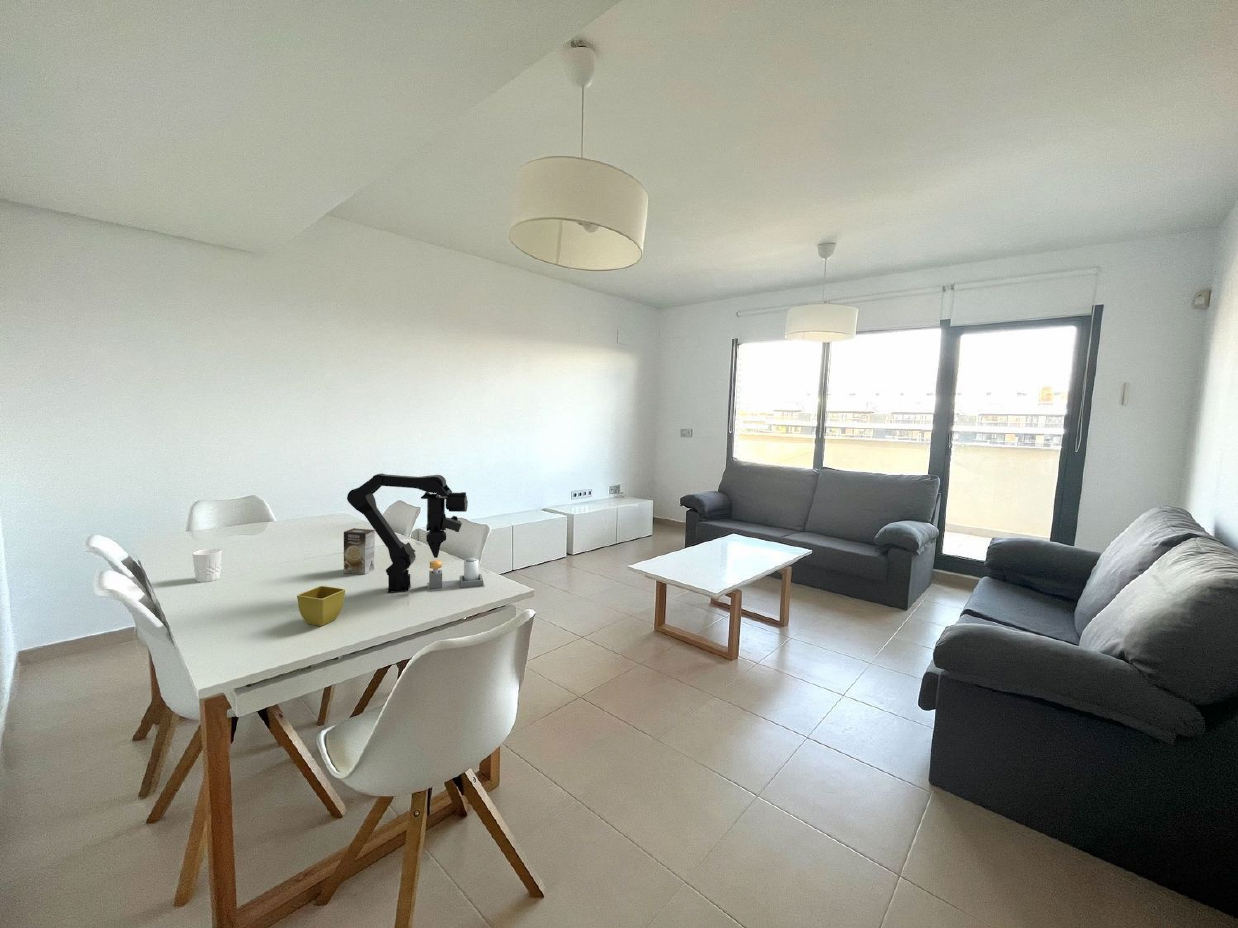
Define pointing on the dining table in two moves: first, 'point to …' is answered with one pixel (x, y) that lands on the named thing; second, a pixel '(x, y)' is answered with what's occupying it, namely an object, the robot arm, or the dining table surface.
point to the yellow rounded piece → (435, 565)
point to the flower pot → (321, 604)
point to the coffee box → (359, 551)
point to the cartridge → (471, 569)
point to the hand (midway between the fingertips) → (435, 555)
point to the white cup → (207, 564)
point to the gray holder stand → (451, 583)
